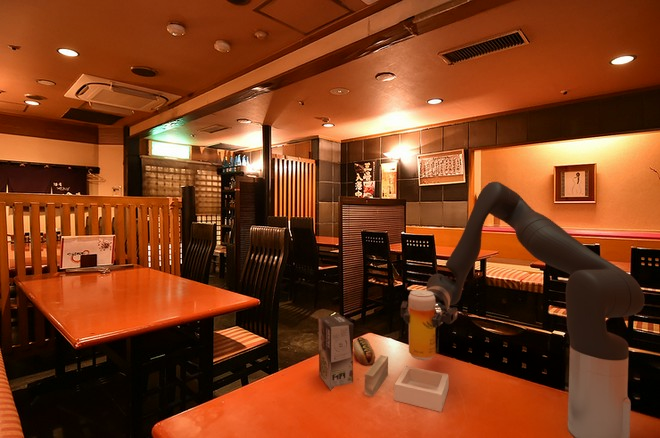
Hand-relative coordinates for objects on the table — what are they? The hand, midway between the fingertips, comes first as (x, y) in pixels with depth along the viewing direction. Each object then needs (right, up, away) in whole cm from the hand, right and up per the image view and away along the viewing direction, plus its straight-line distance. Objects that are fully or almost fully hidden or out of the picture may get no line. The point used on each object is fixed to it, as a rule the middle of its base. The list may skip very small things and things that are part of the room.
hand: (420, 321), depth 81 cm
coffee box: (-19, -19, +12) cm, 30 cm away
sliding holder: (+1, -18, +3) cm, 19 cm away
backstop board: (-1, -19, +4) cm, 20 cm away
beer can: (+1, -9, +3) cm, 10 cm away
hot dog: (-11, -19, +24) cm, 33 cm away
